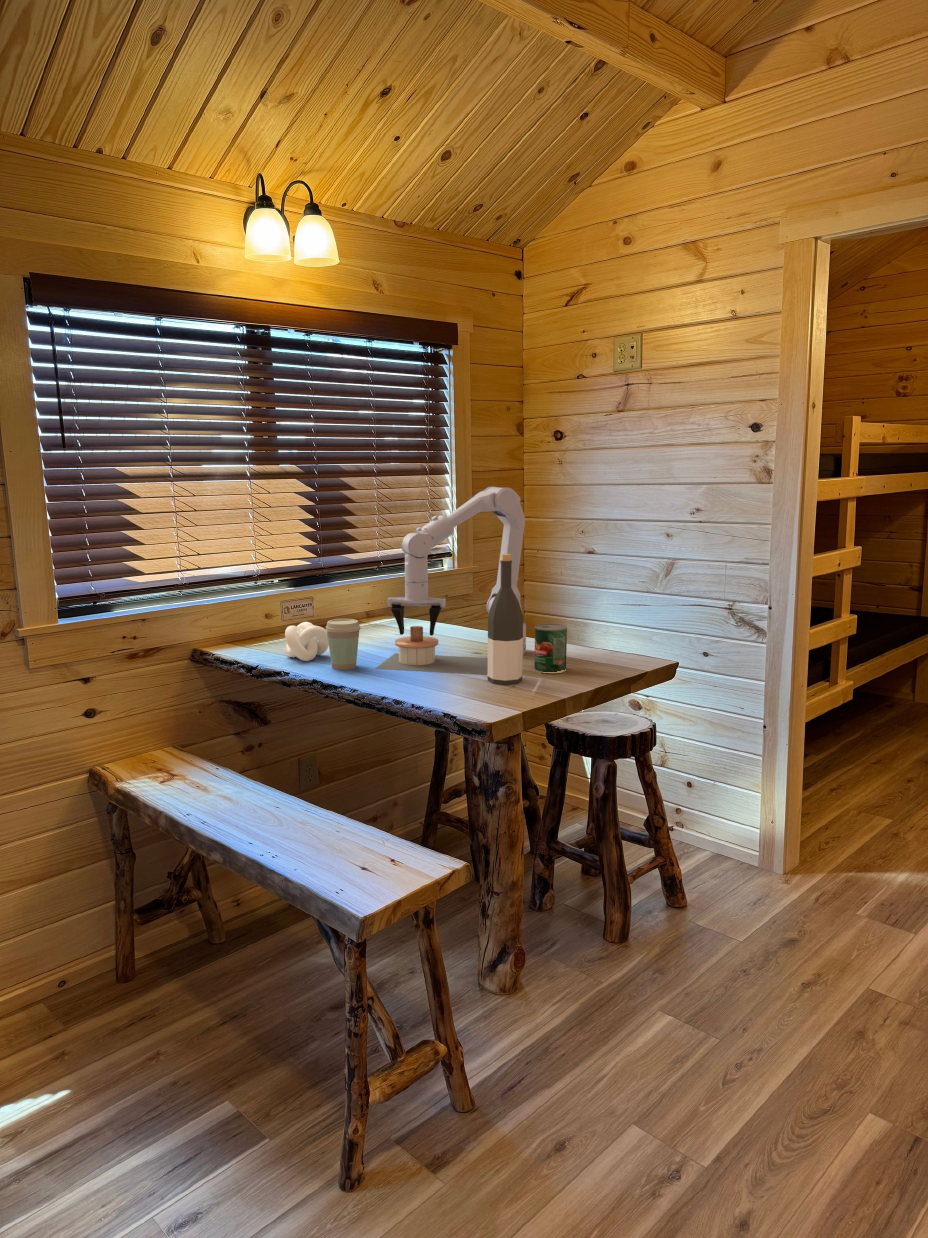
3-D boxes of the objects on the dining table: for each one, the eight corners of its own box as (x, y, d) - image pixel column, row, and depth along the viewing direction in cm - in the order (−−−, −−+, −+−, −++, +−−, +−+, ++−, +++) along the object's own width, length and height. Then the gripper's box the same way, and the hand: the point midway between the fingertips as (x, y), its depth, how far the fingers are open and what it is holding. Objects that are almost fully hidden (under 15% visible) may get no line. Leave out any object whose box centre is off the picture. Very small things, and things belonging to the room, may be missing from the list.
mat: (499, 660, 217) (499, 658, 217) (486, 676, 200) (486, 674, 200) (395, 655, 223) (394, 653, 222) (374, 670, 206) (374, 668, 206)
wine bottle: (480, 682, 196) (481, 554, 190) (503, 676, 201) (505, 551, 195) (505, 689, 190) (507, 557, 184) (529, 682, 195) (531, 554, 190)
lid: (447, 642, 214) (447, 626, 213) (419, 650, 205) (419, 633, 205) (414, 637, 221) (414, 621, 220) (386, 644, 212) (385, 628, 211)
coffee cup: (366, 666, 211) (365, 619, 209) (353, 674, 203) (352, 625, 200) (335, 663, 213) (334, 617, 211) (320, 671, 205) (319, 623, 203)
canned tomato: (571, 668, 208) (572, 625, 206) (558, 675, 202) (559, 630, 200) (542, 664, 212) (543, 622, 210) (528, 671, 206) (529, 627, 204)
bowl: (438, 657, 217) (438, 640, 217) (429, 666, 209) (429, 648, 208) (405, 656, 219) (404, 639, 218) (395, 664, 211) (394, 646, 210)
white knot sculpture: (313, 665, 211) (312, 630, 210) (272, 661, 215) (270, 627, 213) (334, 655, 222) (333, 622, 220) (294, 652, 226) (293, 619, 224)
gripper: (447, 579, 213) (447, 631, 216) (391, 578, 215) (392, 630, 218) (443, 583, 206) (443, 637, 209) (385, 582, 208) (386, 636, 211)
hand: (416, 634), depth 213 cm, fingers open, 7 cm apart
